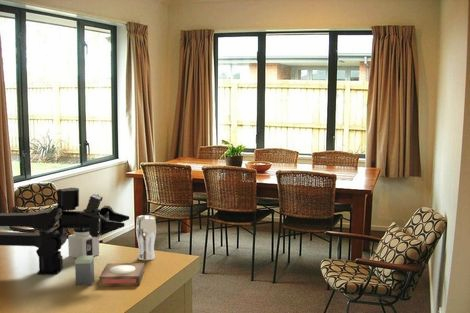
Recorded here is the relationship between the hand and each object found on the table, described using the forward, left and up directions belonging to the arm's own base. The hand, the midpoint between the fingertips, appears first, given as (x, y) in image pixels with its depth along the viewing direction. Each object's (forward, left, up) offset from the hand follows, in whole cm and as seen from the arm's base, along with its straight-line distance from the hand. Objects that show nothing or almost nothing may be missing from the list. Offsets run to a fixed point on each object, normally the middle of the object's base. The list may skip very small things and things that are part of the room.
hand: (126, 221), depth 163 cm
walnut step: (0, -8, -17) cm, 18 cm away
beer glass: (+5, +12, -17) cm, 21 cm away
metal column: (-11, -11, -17) cm, 23 cm away
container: (-18, +16, -17) cm, 30 cm away
